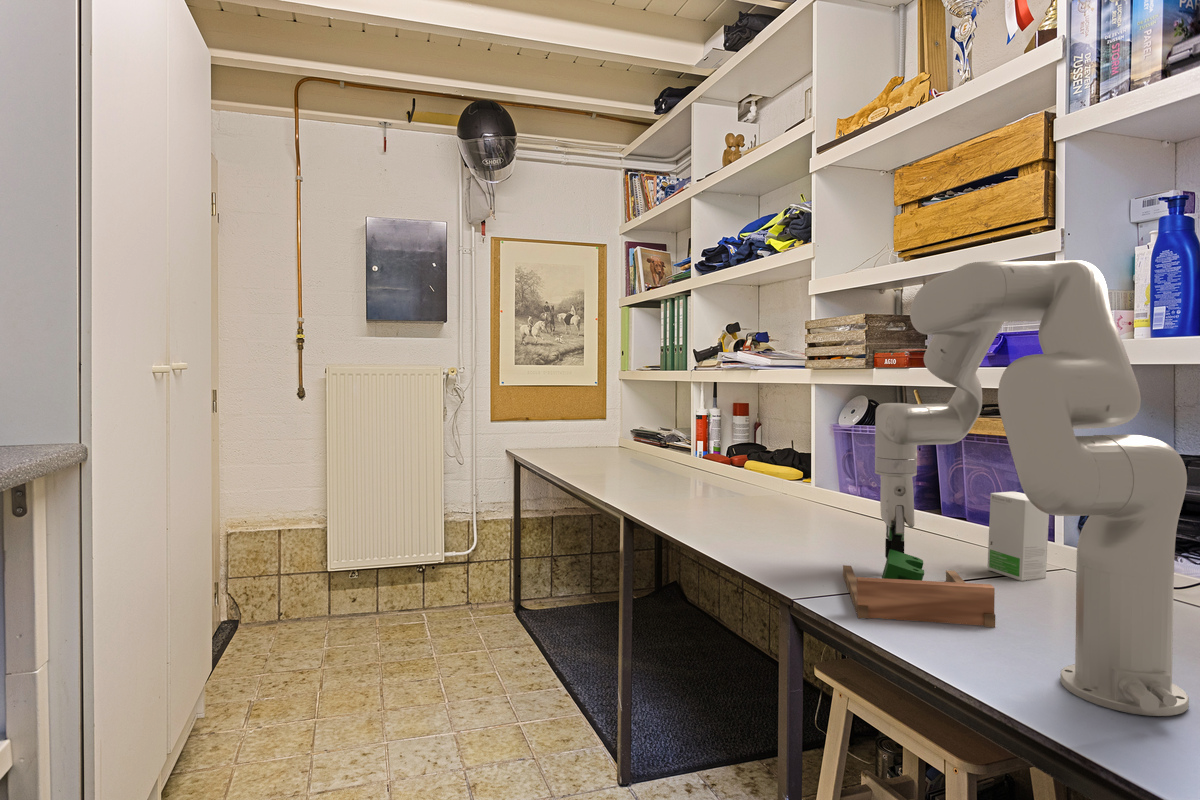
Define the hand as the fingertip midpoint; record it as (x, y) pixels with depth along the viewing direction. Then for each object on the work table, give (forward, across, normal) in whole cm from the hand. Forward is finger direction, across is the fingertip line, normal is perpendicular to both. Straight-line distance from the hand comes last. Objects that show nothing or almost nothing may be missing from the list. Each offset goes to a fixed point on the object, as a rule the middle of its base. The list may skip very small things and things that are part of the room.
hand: (894, 559), depth 138 cm
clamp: (+3, -9, 0) cm, 10 cm away
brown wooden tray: (+3, -15, 0) cm, 16 cm away
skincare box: (+3, +5, -23) cm, 24 cm away
